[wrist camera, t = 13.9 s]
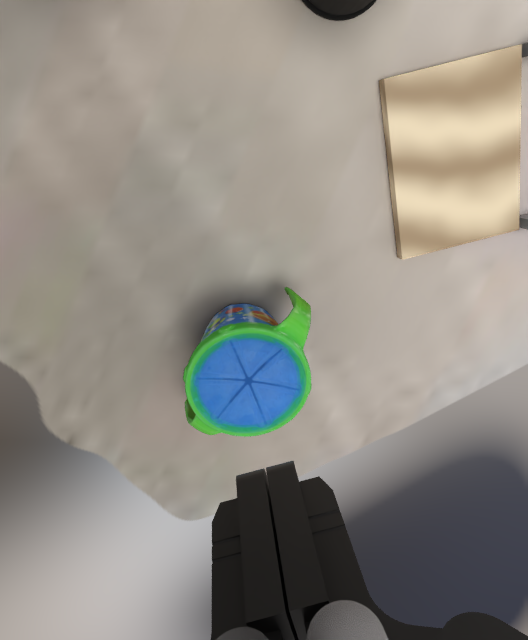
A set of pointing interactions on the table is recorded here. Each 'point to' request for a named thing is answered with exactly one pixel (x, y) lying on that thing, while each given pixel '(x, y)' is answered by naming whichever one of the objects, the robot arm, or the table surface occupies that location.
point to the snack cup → (249, 371)
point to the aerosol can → (339, 8)
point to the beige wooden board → (454, 151)
